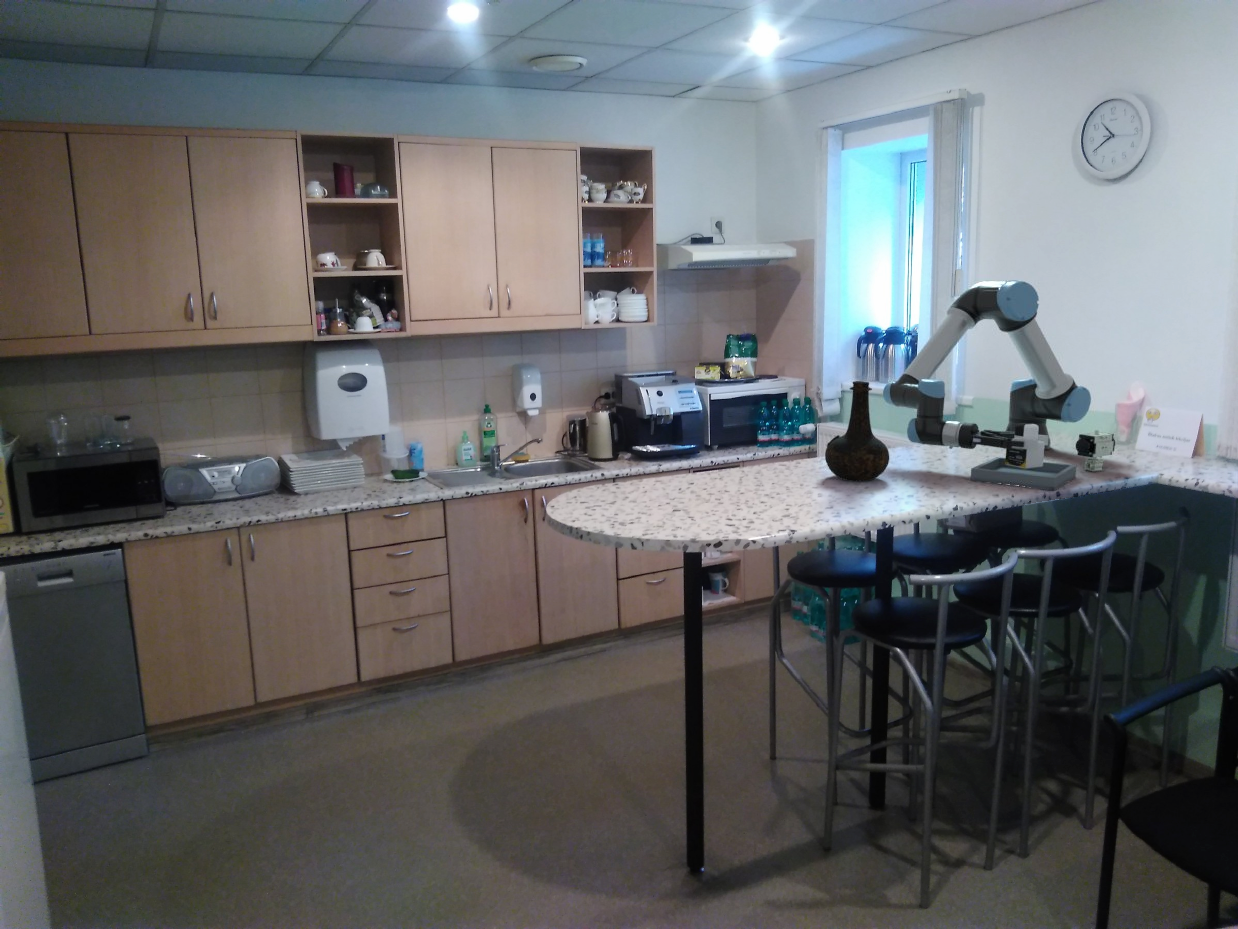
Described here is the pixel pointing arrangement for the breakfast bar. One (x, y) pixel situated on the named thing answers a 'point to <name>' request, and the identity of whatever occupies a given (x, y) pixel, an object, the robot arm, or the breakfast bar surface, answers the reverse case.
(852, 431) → the glass bottle
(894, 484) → the breakfast bar surface
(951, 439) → the robot arm
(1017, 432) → the medicine bottle
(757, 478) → the breakfast bar surface
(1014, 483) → the tray
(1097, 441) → the pneumatic valve
